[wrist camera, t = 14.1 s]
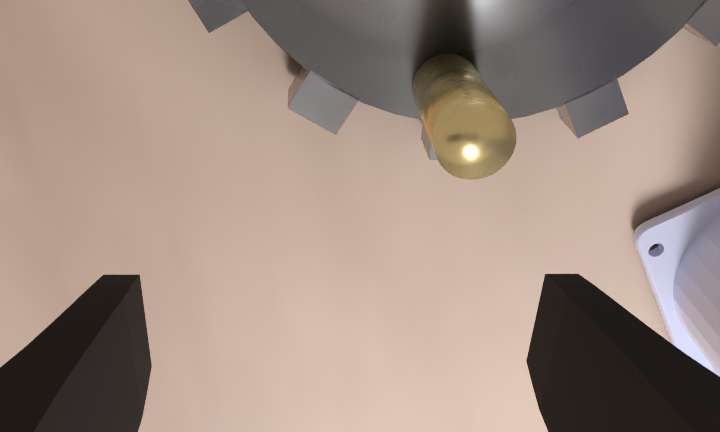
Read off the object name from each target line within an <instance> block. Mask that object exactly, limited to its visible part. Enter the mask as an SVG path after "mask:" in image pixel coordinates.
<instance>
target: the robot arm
mask: <svg viewBox="0 0 720 432" xmlns="http://www.w3.org/2000/svg"><path fill="white" fill-rule="evenodd" d="M633 240H634V243H635V245H636V248H637V251H638V253H639V256H640V259H641V262H642V264H643V267H644V270H645V272H646V275H647V278H648V280H649V283H650V286H651V288H652V291H653V294H654V296H655V299H656V302H657V305H658V307H659V310H660V313H661V315H662V318H663V321H664V323H665V326H666V329H667V331H668V334H669V337H670V339H671V342H672V344H671V343H670V342H668V341H667V340H666V339H664V338H663V337H662V336H660V335H659V334H658V333H656V332H655V331H654V330H652V329H651V328H650V327H648V326H647V325H646V324H644V323H643V322H642V321H640V320H639V319H638V318H636V317H635V316H634V315H632V314H631V313H630V312H629V311H627V310H626V309H625V308H623V307H622V306H621V305H619V304H618V303H617V302H616V301H614V300H613V299H612V298H610V297H609V296H608V295H606V294H605V293H604V292H602V291H601V290H600V289H599V288H597V287H596V286H594V285H593V284H592V283H590V282H589V281H588V280H586V279H585V278H583V277H582V276H580V275H579V274H545V278H544V282H543V287H542V292H541V296H540V301H539V306H538V310H537V315H536V320H535V324H534V329H533V333H532V338H531V343H530V347H529V352H528V357H527V365H528V369H529V373H530V377H531V380H532V384H533V388H534V392H535V395H536V399H537V402H538V406H539V409H540V412H541V414H542V417H543V419H544V422H545V424H546V427H547V429H548V432H720V188H719V189H717V190H714V191H712V192H710V193H708V194H706V195H703V196H701V197H699V198H697V199H694V200H692V201H690V202H688V203H686V204H683V205H681V206H679V207H677V208H675V209H672V210H670V211H668V212H666V213H663V214H661V215H659V216H657V217H655V218H652V219H650V220H648V221H646V222H644V223H642V224H640V225H639V226H638V227H637V228H636V229H635V231H634V234H633ZM658 243H659V244H658ZM654 244H658V246H657V247H656V248H655V249H654V250H650V251H649V249H650V247H651V246H652V245H654ZM150 372H151V358H150V350H149V343H148V335H147V328H146V320H145V312H144V305H143V297H142V290H141V282H140V275H103V276H102V277H101V278H99V279H98V280H97V281H96V282H95V283H94V284H93V285H92V286H91V287H90V288H89V289H87V290H86V291H85V292H84V293H83V294H82V295H81V296H80V297H79V298H78V299H77V300H76V301H75V302H74V303H73V304H72V305H71V306H70V307H68V308H67V309H66V310H65V311H64V312H63V313H62V314H61V315H60V316H59V317H58V318H57V319H56V320H55V321H54V322H53V323H51V324H50V325H49V326H48V327H47V328H46V329H45V330H44V331H43V332H41V333H40V334H39V335H38V336H37V337H36V338H35V339H34V340H33V341H31V342H30V343H29V344H28V345H27V346H26V347H25V348H24V349H22V350H21V351H20V352H19V353H18V354H16V355H15V356H14V357H13V358H12V359H10V360H9V361H8V362H7V363H5V364H4V365H3V366H2V367H1V368H0V432H138V429H139V426H140V423H141V420H142V415H143V410H144V405H145V400H146V395H147V389H148V383H149V378H150Z"/></svg>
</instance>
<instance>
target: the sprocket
mask: <svg viewBox="0 0 720 432" xmlns="http://www.w3.org/2000/svg"><path fill="white" fill-rule="evenodd" d="M188 1H189V2H190V4H191V6H192V7H193V9H194V10H195V12H196V13H197V15H198V17H199V18H200V20H201V21H202V23H203V24H204V26H205V28H206V29H207V31H208V32H209V33H210V32H212V31H213V30H215V29H217V28H219V27H220V26H222V25H224V24H226V23H228V22H229V21H231V20H233V19H235V18H236V17H238V16H240V15H242V14H244V13H245V12H247V11H249V12H250V14H251V15H252V17H253V18H254V19H255V20H256V21H257V22H258V23H259V24H260V26H261V27H262V28H263V29H264V30H265V31H266V32H267V33H268V35H269V36H270V37H271V38H272V39H273V40H274V41H275V43H276V44H277V45H278V46H279V47H281V48H282V49H283V50H284V51H285V52H286V53H287V54H289V55H290V56H291V57H292V58H293V59H294V60H295V61H297V62H298V63H299V64H300V65H301V66H302V68H301V70H300V71H299V73H298V75H297V76H296V78H295V79H294V81H293V83H292V84H291V86H290V88H289V92H288V108H289V109H290V110H292V111H294V112H296V113H298V114H299V115H301V116H303V117H305V118H306V119H308V120H310V121H312V122H314V123H315V124H317V125H319V126H321V127H323V128H324V129H326V130H328V131H330V132H332V133H333V134H335V135H336V134H337V132H338V131H339V129H340V128H341V126H342V125H343V123H344V122H345V120H346V119H347V117H348V116H349V114H350V112H351V111H352V109H353V108H354V106H355V105H356V103H357V102H358V101H360V102H362V103H365V104H368V105H371V106H373V107H376V108H379V109H382V110H385V111H388V112H391V113H394V114H397V115H402V116H407V117H412V118H416V119H421V120H422V121H423V127H422V138H421V139H422V141H423V144H424V147H425V149H426V152H427V155H428V157H429V160H438V161H439V163H440V164H441V166H442V167H443V168H444V169H445V170H446V171H447V172H448V173H450V174H451V175H454V176H456V177H458V178H462V179H470V180H471V179H480V178H484V177H487V176H489V175H492V174H493V173H495V172H497V171H498V170H500V169H501V168H502V167H503V166H504V165H505V164H506V163H507V162H508V160H509V159H510V157H511V155H512V153H513V151H514V148H515V144H516V131H515V127H514V124H513V122H512V120H511V119H513V118H519V117H525V116H529V115H532V114H536V113H539V112H542V111H546V110H549V109H553V108H557V111H558V113H559V116H560V118H561V120H562V121H563V122H564V123H565V124H566V125H567V126H568V128H569V129H570V130H571V131H572V132H573V133H574V134H575V136H576V137H577V138H579V137H581V136H583V135H586V134H588V133H590V132H592V131H594V130H596V129H598V128H600V127H602V126H604V125H606V124H608V123H611V122H613V121H615V120H617V119H619V118H621V117H623V116H625V115H627V114H629V113H628V110H627V107H626V104H625V101H624V98H623V95H622V92H621V89H620V86H619V84H618V81H617V78H619V77H621V76H622V75H624V74H625V73H627V72H628V71H629V70H631V69H632V68H634V67H635V66H636V65H638V64H639V63H641V62H642V61H643V60H645V59H646V58H648V57H649V56H651V55H652V54H653V53H654V52H656V51H657V50H658V49H659V48H660V47H661V46H662V45H663V44H665V43H666V42H667V41H668V40H669V39H670V38H671V37H673V36H674V35H675V34H676V33H677V32H678V31H679V30H680V29H682V28H683V27H684V28H685V29H686V30H688V31H689V32H691V33H693V34H695V35H696V36H698V37H700V38H702V39H704V40H706V41H708V42H709V43H711V44H713V45H715V46H717V45H718V44H719V42H720V0H188Z"/></svg>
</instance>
